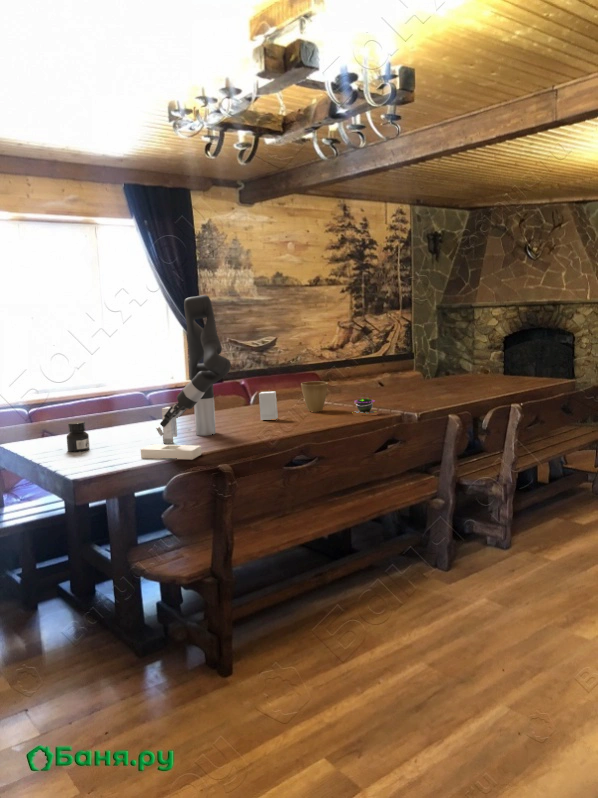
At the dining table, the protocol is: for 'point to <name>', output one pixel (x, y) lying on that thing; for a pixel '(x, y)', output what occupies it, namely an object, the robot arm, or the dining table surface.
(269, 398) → the skincare box
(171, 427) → the pale grey rectangular block
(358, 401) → the toy cauldron
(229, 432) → the dining table surface
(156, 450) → the cream recessed block
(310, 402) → the plant pot
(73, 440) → the ink bottle
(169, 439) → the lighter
